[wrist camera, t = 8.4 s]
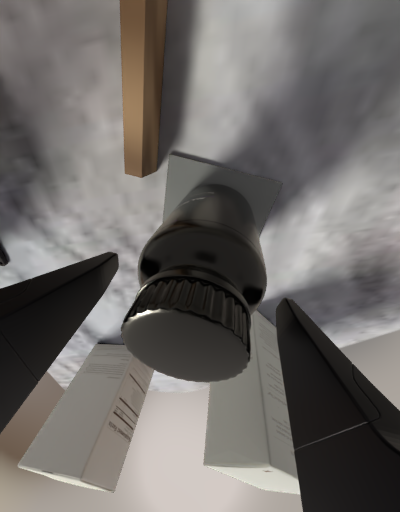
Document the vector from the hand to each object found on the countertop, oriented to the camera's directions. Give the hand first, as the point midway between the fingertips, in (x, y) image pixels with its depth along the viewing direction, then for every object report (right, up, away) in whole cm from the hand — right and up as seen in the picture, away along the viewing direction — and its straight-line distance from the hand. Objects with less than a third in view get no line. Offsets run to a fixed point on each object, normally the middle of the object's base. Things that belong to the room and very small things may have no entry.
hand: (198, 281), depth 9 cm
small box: (+7, -9, +15) cm, 19 cm away
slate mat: (+1, +5, +7) cm, 9 cm away
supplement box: (-14, -18, +25) cm, 34 cm away
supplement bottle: (+1, +5, +7) cm, 8 cm away
